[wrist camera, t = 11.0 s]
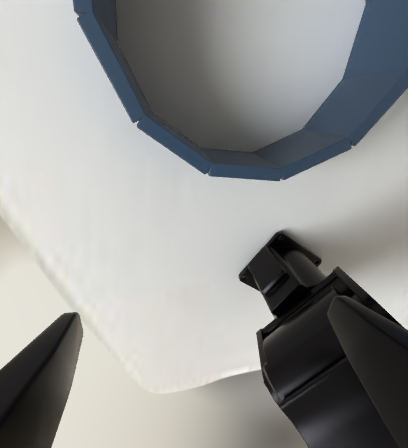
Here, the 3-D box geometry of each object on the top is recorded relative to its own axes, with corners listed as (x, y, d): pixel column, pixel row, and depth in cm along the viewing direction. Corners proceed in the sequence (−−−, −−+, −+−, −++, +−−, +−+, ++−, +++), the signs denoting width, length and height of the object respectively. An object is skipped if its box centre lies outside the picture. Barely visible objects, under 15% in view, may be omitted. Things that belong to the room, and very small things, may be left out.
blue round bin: (423, -5, 16) (535, -53, 11) (255, 199, 21) (281, 228, 16) (223, -365, 10) (282, -853, 5) (50, 53, 15) (-8, 27, 10)
